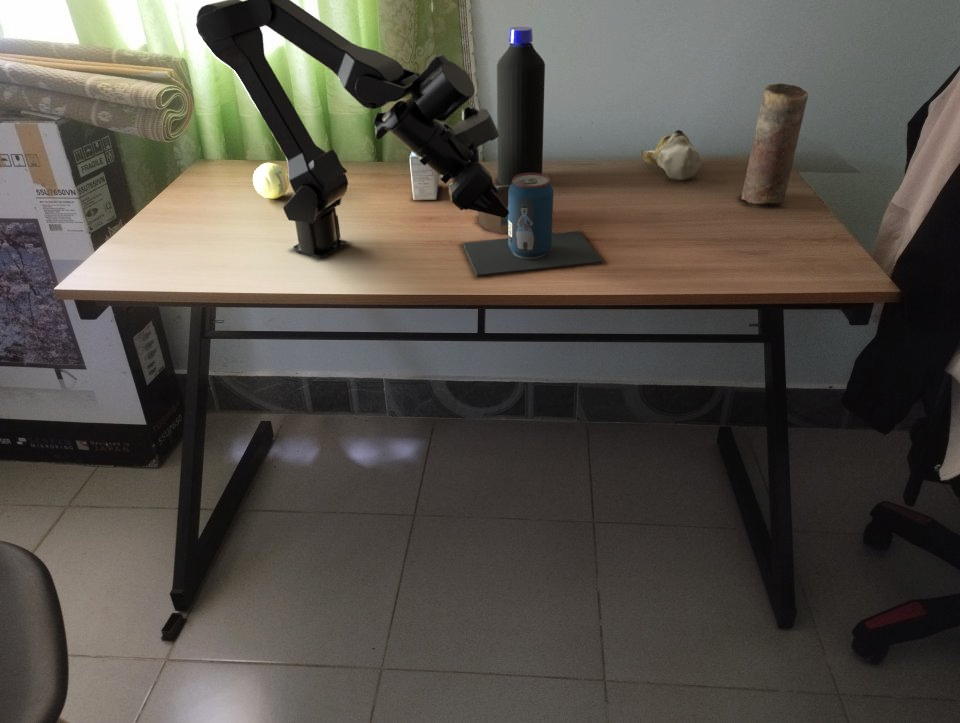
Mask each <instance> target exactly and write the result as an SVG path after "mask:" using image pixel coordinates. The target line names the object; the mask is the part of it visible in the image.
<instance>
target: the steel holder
mask: <svg viewBox="0 0 960 723" xmlns="http://www.w3.org/2000/svg"><path fill="white" fill-rule="evenodd" d="M494 186H495V187H496V188H497V190H498V192H497V193H496V195H497V197H498V198H499V199H500V200H501V202H502V203H503V204H504V206H505V207H506V208H507V210H508V190H509V187H510V185H502V184H500V185H494ZM477 218H478V224H479V225H480V226H481V227H482V228H483V229H484V230H487V231H490V232H494V233H499V234H508V215H507V216H506V217H505V218H503V217H499V216H495V215H491V214H487V213H483V212H479V211H477Z"/></svg>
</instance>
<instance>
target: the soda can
mask: <svg viewBox="0 0 960 723" xmlns="http://www.w3.org/2000/svg"><path fill="white" fill-rule="evenodd" d="M554 192H555V190H554V188H553V186H552V183H551V178H550V177H549V176H548V175H546V174H544V173H542V174H540V173H523V174H519V175H516V176H514V177H513V179H512V184H511V185H510V187H509V190H508V211H509V214H508V233H507V238H508V245H509V247H510V249H511V251H512V252H513V254H514V255H515V256H517V257H520V258H525V259H535V258H540V257H543V256H544V255H546V254H547V252H548V251H549V249H550V248H551V245H552V234H553V221H554V220H553V217H554Z"/></svg>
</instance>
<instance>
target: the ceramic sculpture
mask: <svg viewBox="0 0 960 723" xmlns="http://www.w3.org/2000/svg"><path fill="white" fill-rule="evenodd" d="M640 152H641V158H642V159H643V160H644V161H645V162H646V163H647V164H650V165H654V166H658V167H660V168H661V169H663V170H664V172H665V174H666V176H667V177H668V178H669V179H670V180H676V181H685V180H688V179H691V178H693V177H694V176H695V175H696V174H697V173H698V171H699V169H700V167H701V164H702V160H703V159H702V158H701V155H700V153H699V151H698V150H697V149H696V148H695V146H694V145H693V144H692V142H691V141H690V138H689V136H688V135H687V134H686V133H684V132H683V131H682V130H681V129H678V130H676V131H675V132H674V133H670V134H666V135H664V136H662V137H661V139H660V140H659V142H658V143H657V146H656V148H655V149H652V150H643V149H642V150H640Z"/></svg>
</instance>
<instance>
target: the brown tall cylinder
mask: <svg viewBox="0 0 960 723" xmlns="http://www.w3.org/2000/svg"><path fill="white" fill-rule="evenodd" d="M808 98H809V92H807V91H806V90H804V89H803V88H802V87H800V86H797V85H794V84H788V83H787V84H786V83H774V84H769V85H767V86H765V88H764V89H763V92H762V98H761V103H760V107H759V112H758V117H757V121H756V126H755V131H754V136H753V142H752V145H751V151H750V156H749V160H748V165H747V169H746V173H745V179H744V182H743V187H742V193H741V198H740V199H741V200H742V201H746V202H748V203H749V204H751V205H764V206H776V205H779V204H780V203H782V202H783V201H784V200H785V198H786V194H787V190H788V185H789V182H790V177H791V172H792V168H793V163H794V159H795V154H796V150H797V145H798V141H799V137H800V131H801V128H802V123H803V120H804V116H805V110H806V106H807V102H808Z"/></svg>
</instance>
